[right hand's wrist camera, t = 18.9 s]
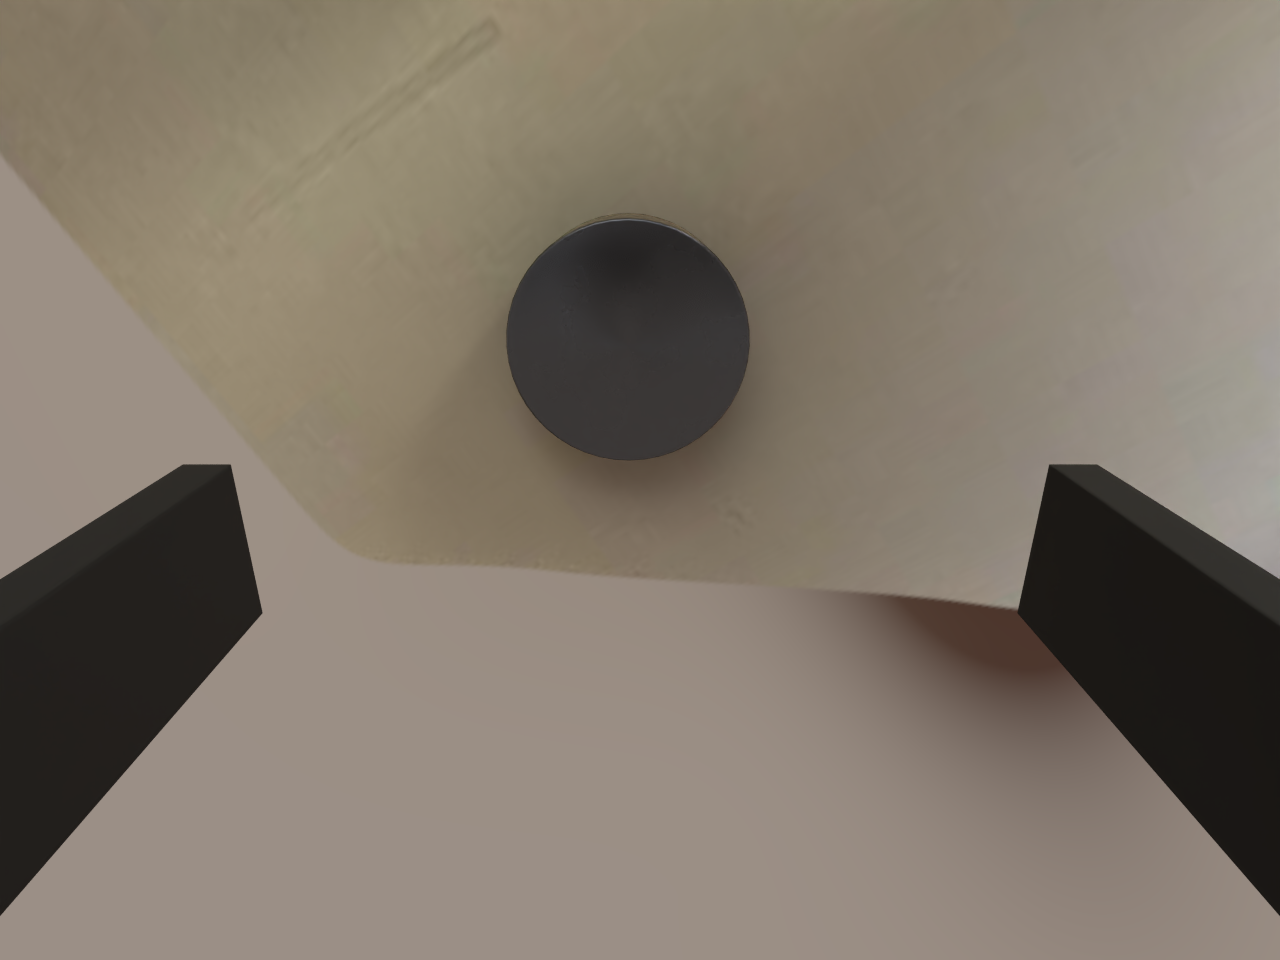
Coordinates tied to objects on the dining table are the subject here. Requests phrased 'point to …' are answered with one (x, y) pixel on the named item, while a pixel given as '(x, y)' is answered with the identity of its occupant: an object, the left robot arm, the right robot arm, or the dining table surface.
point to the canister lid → (628, 337)
